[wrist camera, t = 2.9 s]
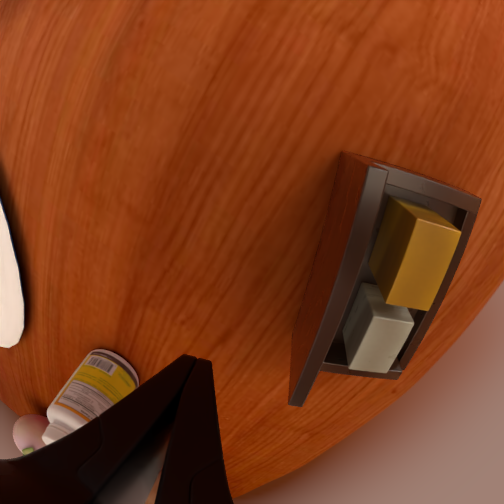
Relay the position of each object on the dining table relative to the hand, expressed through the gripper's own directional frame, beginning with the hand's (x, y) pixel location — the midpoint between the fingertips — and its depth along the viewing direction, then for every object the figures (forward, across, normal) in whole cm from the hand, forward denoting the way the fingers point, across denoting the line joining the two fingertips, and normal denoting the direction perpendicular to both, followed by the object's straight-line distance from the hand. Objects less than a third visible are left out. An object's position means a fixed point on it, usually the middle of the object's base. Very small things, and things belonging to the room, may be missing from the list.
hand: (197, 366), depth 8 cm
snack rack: (+10, -8, 0) cm, 13 cm away
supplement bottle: (+10, +10, +15) cm, 21 cm away
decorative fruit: (+10, +26, +36) cm, 46 cm away
